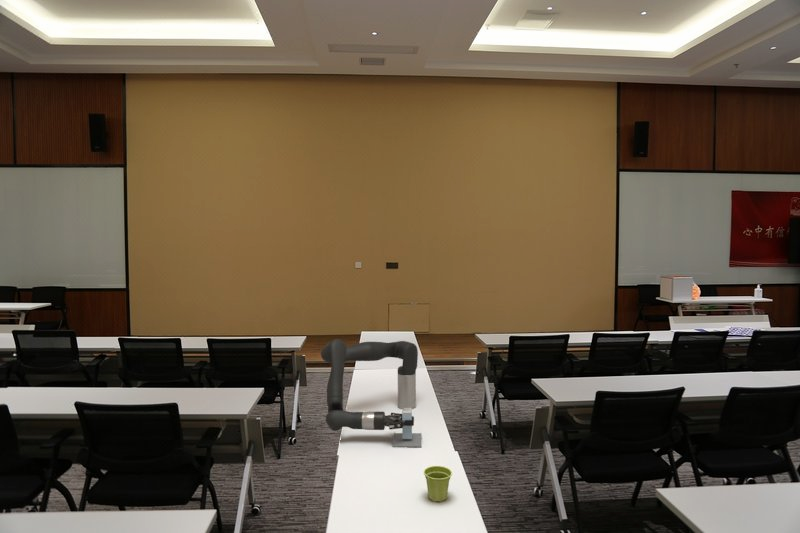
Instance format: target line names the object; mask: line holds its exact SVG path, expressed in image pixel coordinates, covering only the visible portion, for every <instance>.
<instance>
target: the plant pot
mask: <svg viewBox="0 0 800 533" xmlns="http://www.w3.org/2000/svg"><path fill="white" fill-rule="evenodd" d="M423 475H424V476H425V477H424V478H425V480H426V488H427V493H428V494H427V495H428V499H429V498H430V499H429V500H432V501H433V500H434V501H433V502H436V501H441V502H444V500H447V499H446V498H448V491H449V484H450V479H451V477H452V475H453V472H452V470H451V469H450V468H449V467H446V466H441V465H431V466H428V467H426V468H425V469H424V470H423Z"/></svg>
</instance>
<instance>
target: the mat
mask: <svg viewBox="0 0 800 533" xmlns="http://www.w3.org/2000/svg"><path fill="white" fill-rule="evenodd" d="M392 438H393V439H392V447H407V448H409V449H411V448H413V449H415V448H416V449H419V448H422V446H423V445H422V444H423V442H422V433H421V432H412V439H402V432H393V437H392ZM407 448H406V449H407Z"/></svg>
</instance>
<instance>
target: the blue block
mask: <svg viewBox="0 0 800 533" xmlns="http://www.w3.org/2000/svg"><path fill="white" fill-rule="evenodd" d="M401 411H402V413H401V414H402V420H412V416H413V409H412V408H402V409H401ZM401 429H402V430H401V431H402V432H401V433H402V439H412V433H413V426H404V427H403V428H401Z"/></svg>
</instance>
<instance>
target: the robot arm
mask: <svg viewBox="0 0 800 533" xmlns="http://www.w3.org/2000/svg"><path fill="white" fill-rule="evenodd" d="M418 353H419V351H418V347H417V345H416V344H415V343H413V342H411V341H410V342H409V341H405V340H399V341H393V342H383V341H364V342H359V343H358V342H357V343H354V344H350V345H346V344H345V342H344V341H343V340H342V339H339V338H334V339H332V340H331V341H329V342H328V343H327V344H325V345H324V346H323V347H322V349H321V351H320V357H321V358H322V360H323V361H324V362H326V363H328V364H331V366H330V367H331V368H330V373H329V376H328V381H327V384H326V406H327V414H326V415H325V422H326V425H327V426H328V428H329V429H330V430H331V431H335V432H336V431H337V432H338V431H339V430H341V429H342V428H349V429H351V430H352V429H353V430H366V431H384V430H386V428H385V427H388V430H391V431H392V430H397V429H402V428H403V427H404V426H412V427H413V426H414V425H415V424H414V423H415V417H414V416H413V415H412V420H402V413H399V412H397V413H396V412H390V414H389V415H386V413H385V411H374V410H373V411H354V412H353V411H347V410H344V406H343V405H344V404H343V403H344V402H343V400H344V394H343V393H344V391H343V390H344V388H343V387H344V386H343V384H344V373H345V364H346V362H374V361H375V362H377V361H381V360H383V359H386V358H396V359H400V360H402V365H400V366H398V368H397V407H398V408H399V409H401V410H402V408H412V410H413V409H415V408H416V406H417V400H416V399H417V393H416V392H417V387H416V386H417V384H416V383H417V377H416V376H417V374H416V372H417V369H418V368H417V367H418V360H419V359H418V357H419V356H418V355H419V354H418Z"/></svg>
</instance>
